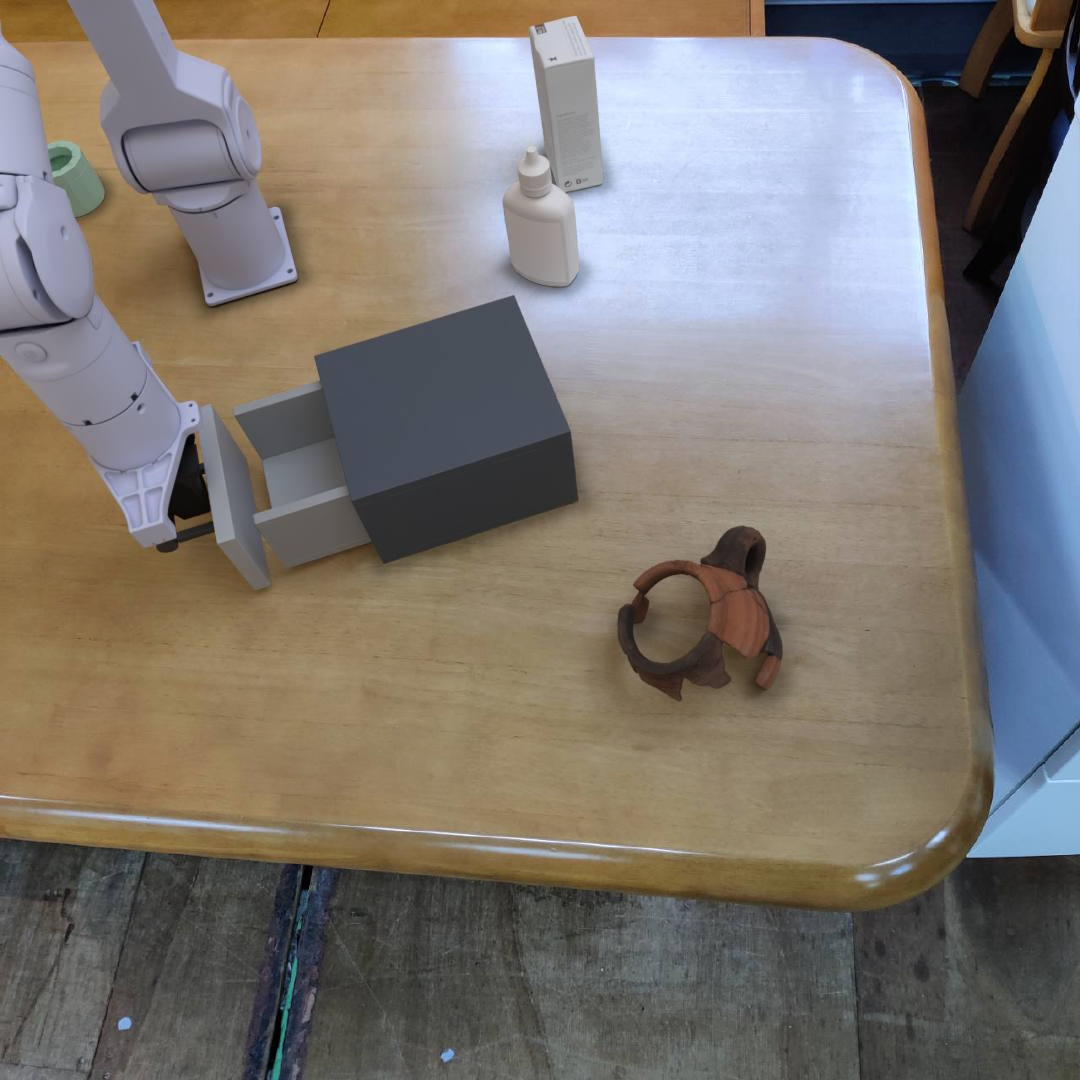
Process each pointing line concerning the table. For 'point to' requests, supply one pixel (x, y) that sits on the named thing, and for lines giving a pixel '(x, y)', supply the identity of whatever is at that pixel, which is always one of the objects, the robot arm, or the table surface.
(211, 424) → the drawer
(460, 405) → the cabinet
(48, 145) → the jar
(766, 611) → the pottery mug
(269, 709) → the table surface
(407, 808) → the table surface
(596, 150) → the cosmetic box
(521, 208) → the eye dropper bottle
